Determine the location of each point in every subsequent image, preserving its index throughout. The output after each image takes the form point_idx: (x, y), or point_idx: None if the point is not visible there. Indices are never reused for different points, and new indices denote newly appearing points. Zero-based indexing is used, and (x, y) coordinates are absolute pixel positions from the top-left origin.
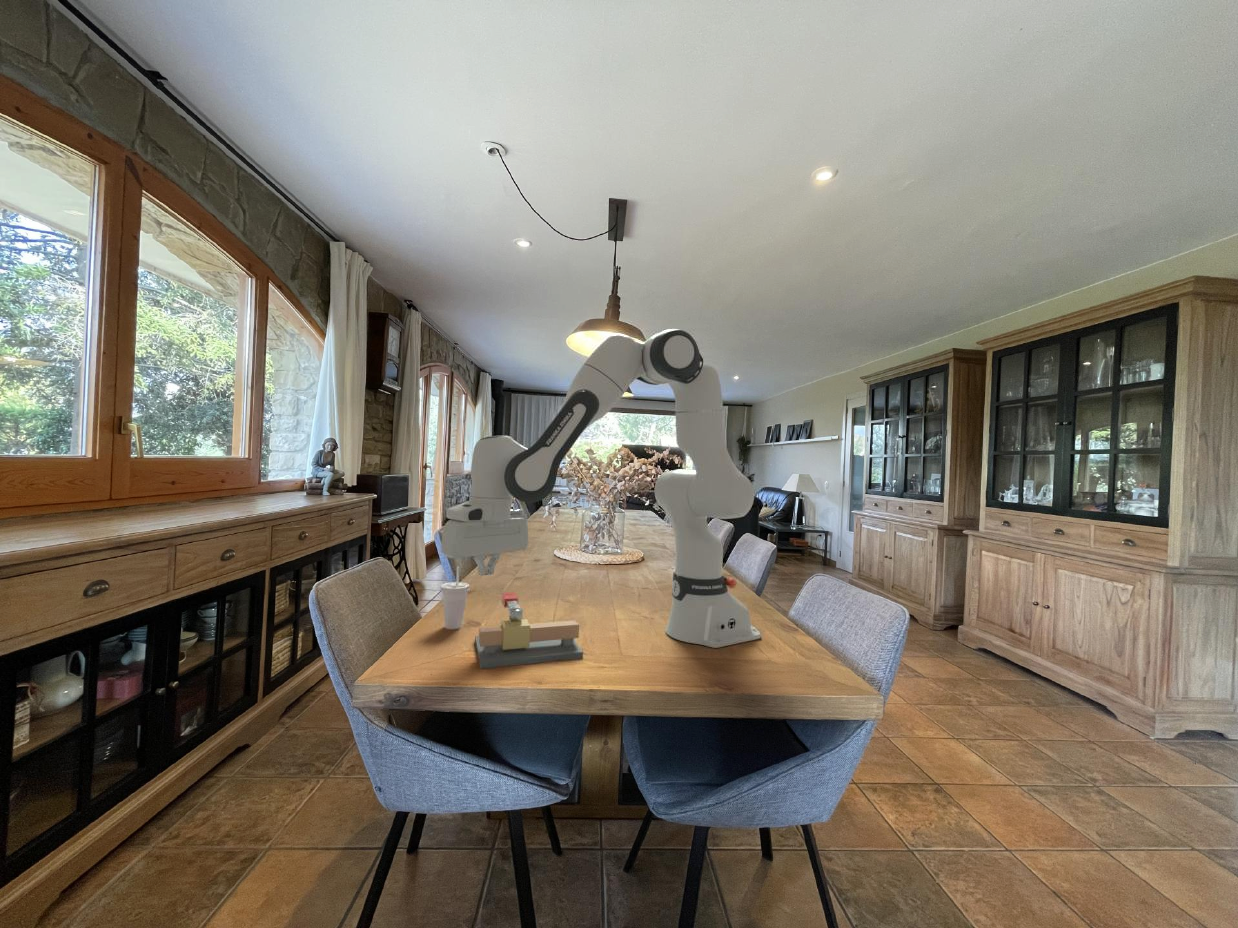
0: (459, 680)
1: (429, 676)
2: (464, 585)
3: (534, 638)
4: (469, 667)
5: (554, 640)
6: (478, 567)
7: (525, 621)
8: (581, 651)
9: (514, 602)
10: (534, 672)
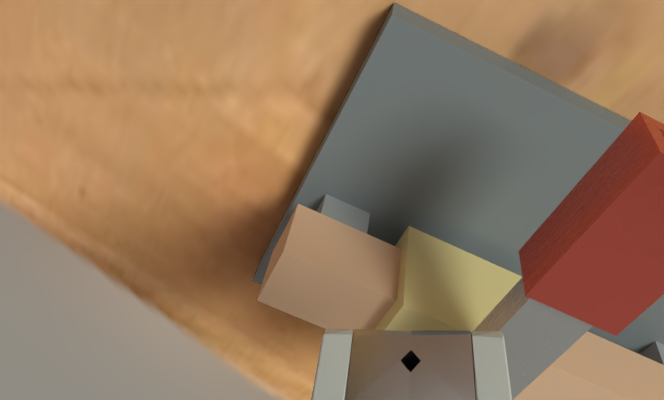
0: (157, 284)
1: (72, 202)
2: None
3: None
4: (226, 231)
5: (655, 312)
6: (314, 393)
7: None
8: None
9: (547, 344)
10: None
